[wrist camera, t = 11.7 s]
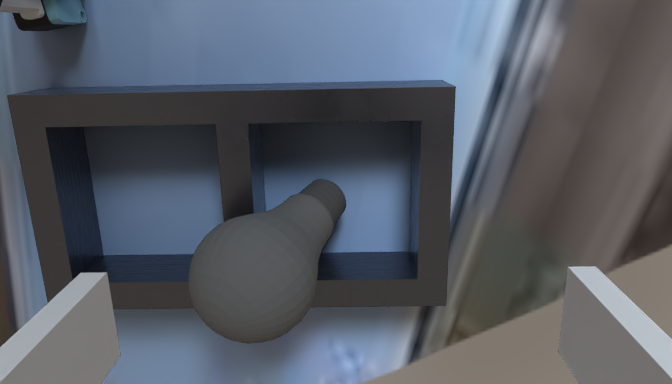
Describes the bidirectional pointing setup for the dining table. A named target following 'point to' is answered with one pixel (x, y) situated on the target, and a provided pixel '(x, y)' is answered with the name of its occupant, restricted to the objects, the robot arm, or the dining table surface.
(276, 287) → the light bulb
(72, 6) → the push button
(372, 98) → the rectangular frame
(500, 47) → the dining table surface
